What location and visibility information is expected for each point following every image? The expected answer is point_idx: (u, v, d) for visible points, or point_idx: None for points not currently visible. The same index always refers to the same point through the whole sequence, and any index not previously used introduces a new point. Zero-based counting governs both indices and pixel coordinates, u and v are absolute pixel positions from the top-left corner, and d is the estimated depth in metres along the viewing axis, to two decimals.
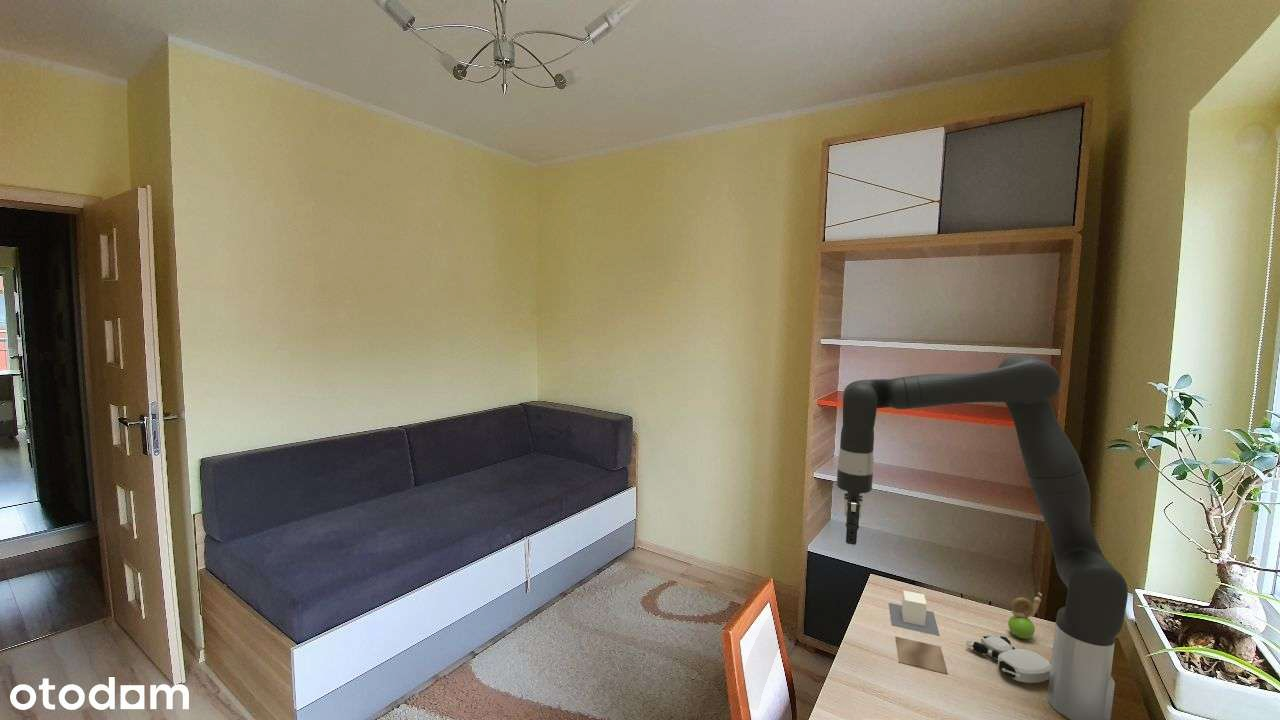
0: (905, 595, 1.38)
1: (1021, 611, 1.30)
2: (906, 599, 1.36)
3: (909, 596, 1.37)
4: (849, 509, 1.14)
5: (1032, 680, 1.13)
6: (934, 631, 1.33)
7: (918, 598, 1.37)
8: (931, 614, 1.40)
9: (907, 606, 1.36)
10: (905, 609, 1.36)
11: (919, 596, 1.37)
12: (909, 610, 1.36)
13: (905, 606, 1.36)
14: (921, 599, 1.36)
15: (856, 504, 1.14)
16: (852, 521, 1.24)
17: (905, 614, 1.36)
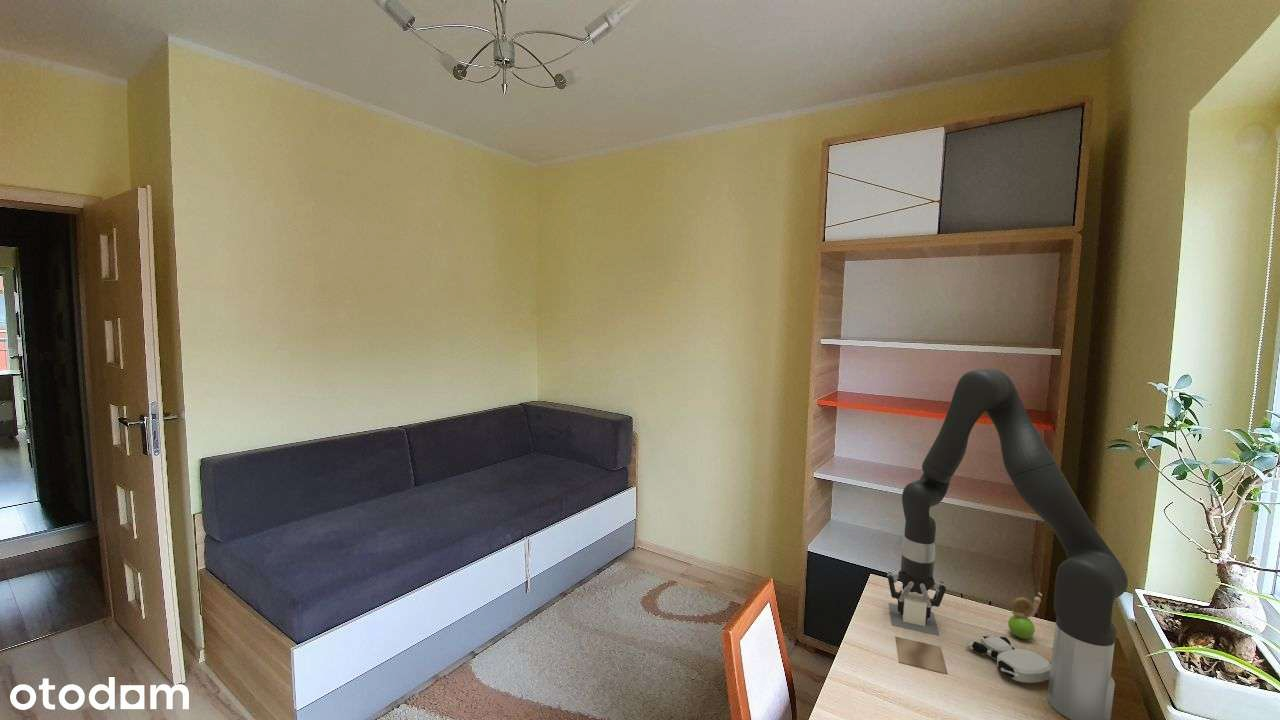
0: None
1: (1021, 611, 1.30)
2: (906, 599, 1.36)
3: (909, 596, 1.37)
4: None
5: (1031, 680, 1.13)
6: (934, 631, 1.33)
7: (918, 598, 1.37)
8: (931, 614, 1.40)
9: (907, 606, 1.36)
10: (905, 609, 1.36)
11: (919, 596, 1.37)
12: (909, 610, 1.36)
13: (905, 606, 1.36)
14: (921, 599, 1.36)
15: (944, 584, 1.35)
16: None
17: (905, 614, 1.36)
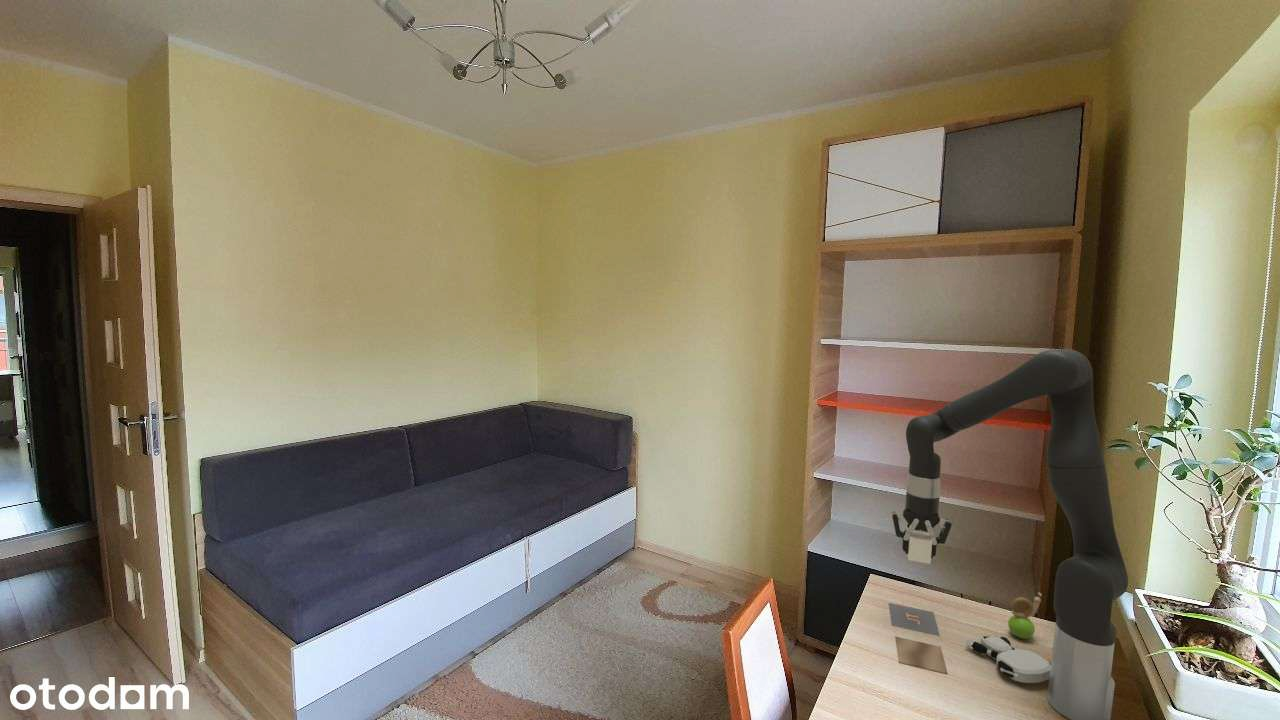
0: None
1: (1021, 611, 1.30)
2: (911, 537, 1.34)
3: (914, 535, 1.35)
4: None
5: (1030, 680, 1.13)
6: (934, 631, 1.33)
7: (923, 536, 1.35)
8: (931, 614, 1.40)
9: (912, 544, 1.34)
10: (910, 547, 1.34)
11: (924, 535, 1.35)
12: (914, 548, 1.34)
13: (910, 544, 1.34)
14: (926, 537, 1.34)
15: None
16: None
17: (910, 552, 1.34)
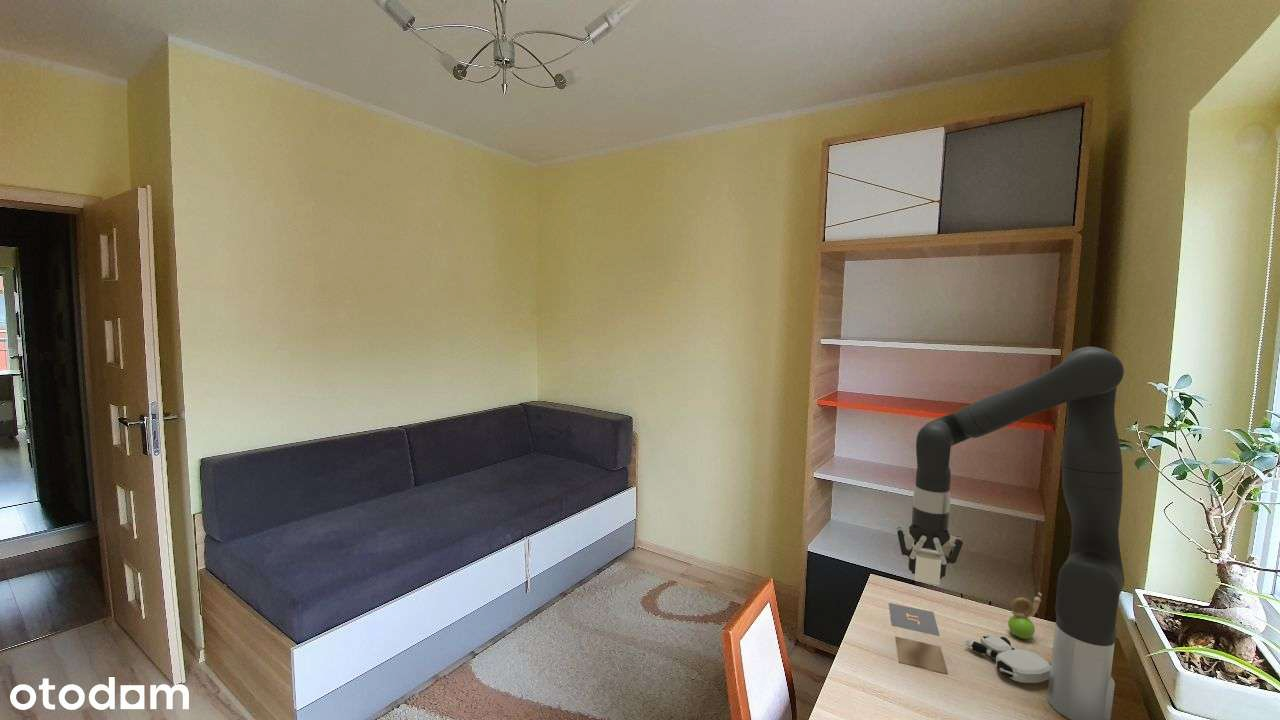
0: None
1: (1021, 611, 1.30)
2: (918, 555, 1.23)
3: (921, 553, 1.24)
4: None
5: (1030, 680, 1.13)
6: (934, 631, 1.33)
7: (931, 554, 1.23)
8: (931, 614, 1.40)
9: (919, 564, 1.22)
10: (917, 567, 1.22)
11: (933, 553, 1.24)
12: (921, 568, 1.22)
13: (917, 563, 1.22)
14: (935, 556, 1.22)
15: None
16: None
17: (917, 572, 1.22)
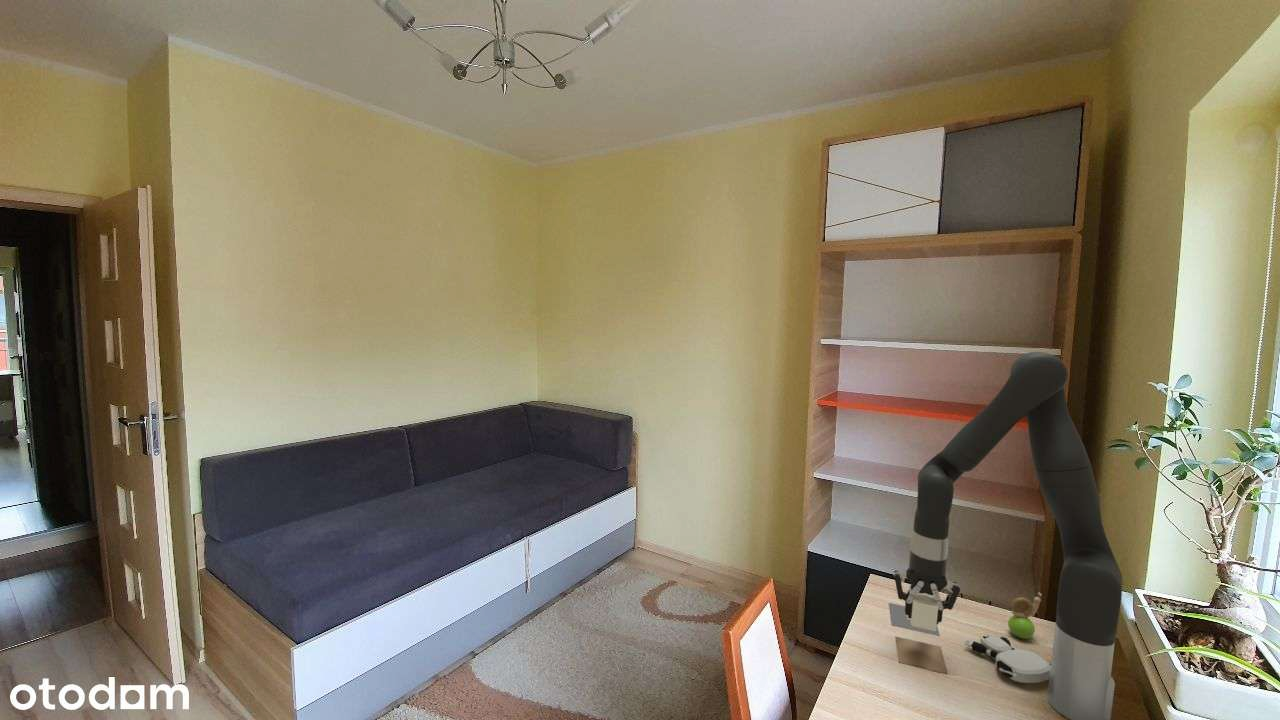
0: None
1: (1021, 611, 1.30)
2: (915, 600, 1.21)
3: (918, 597, 1.23)
4: None
5: (1029, 680, 1.13)
6: (934, 631, 1.33)
7: (928, 599, 1.22)
8: None
9: (916, 609, 1.21)
10: (914, 612, 1.21)
11: (929, 598, 1.23)
12: (918, 613, 1.21)
13: (914, 608, 1.21)
14: (932, 601, 1.21)
15: (958, 585, 1.20)
16: None
17: (914, 617, 1.21)
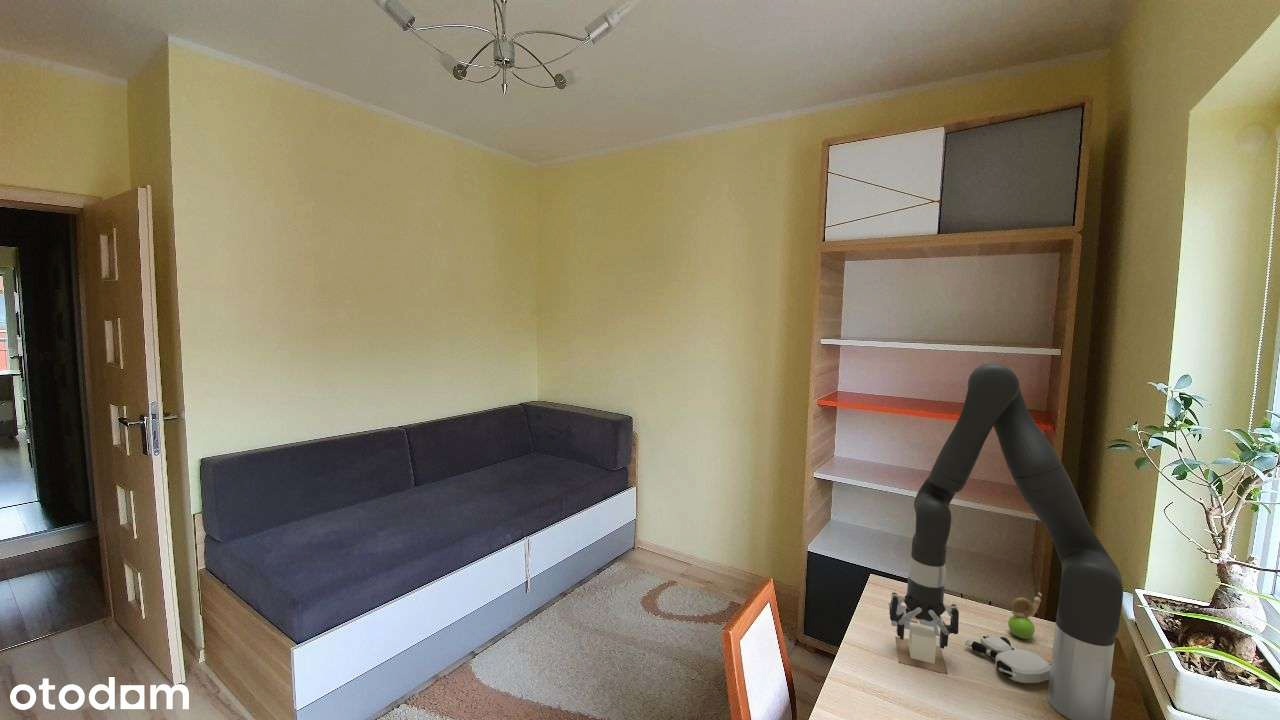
0: (912, 628, 1.24)
1: (1021, 611, 1.30)
2: (914, 633, 1.22)
3: (917, 629, 1.23)
4: None
5: (1029, 680, 1.13)
6: None
7: (927, 631, 1.23)
8: None
9: (914, 641, 1.22)
10: (912, 644, 1.22)
11: (928, 630, 1.23)
12: (917, 645, 1.22)
13: (912, 641, 1.22)
14: (930, 633, 1.22)
15: (956, 607, 1.20)
16: None
17: (912, 650, 1.22)
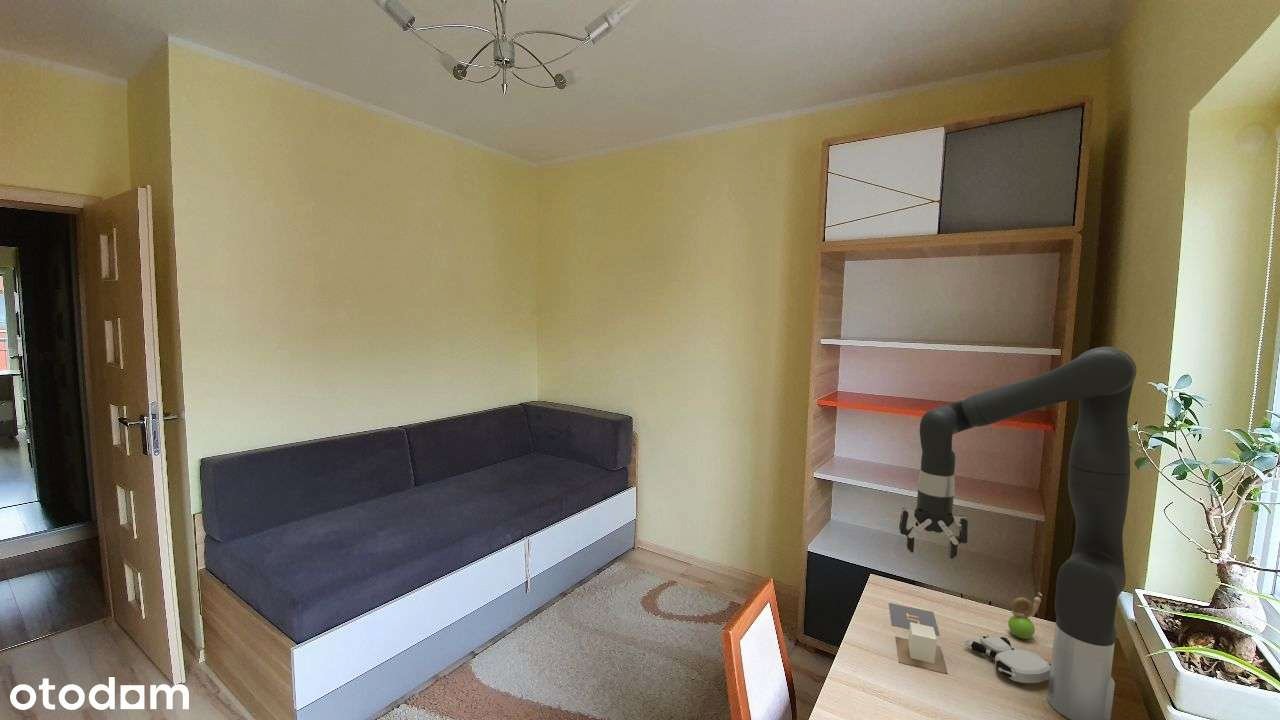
0: (912, 628, 1.24)
1: (1021, 611, 1.30)
2: (914, 633, 1.22)
3: (917, 629, 1.23)
4: None
5: (1028, 680, 1.13)
6: None
7: (927, 631, 1.23)
8: (931, 614, 1.40)
9: (914, 641, 1.22)
10: (912, 644, 1.22)
11: (928, 630, 1.23)
12: (917, 645, 1.22)
13: (912, 641, 1.22)
14: (930, 633, 1.22)
15: None
16: None
17: (912, 650, 1.22)
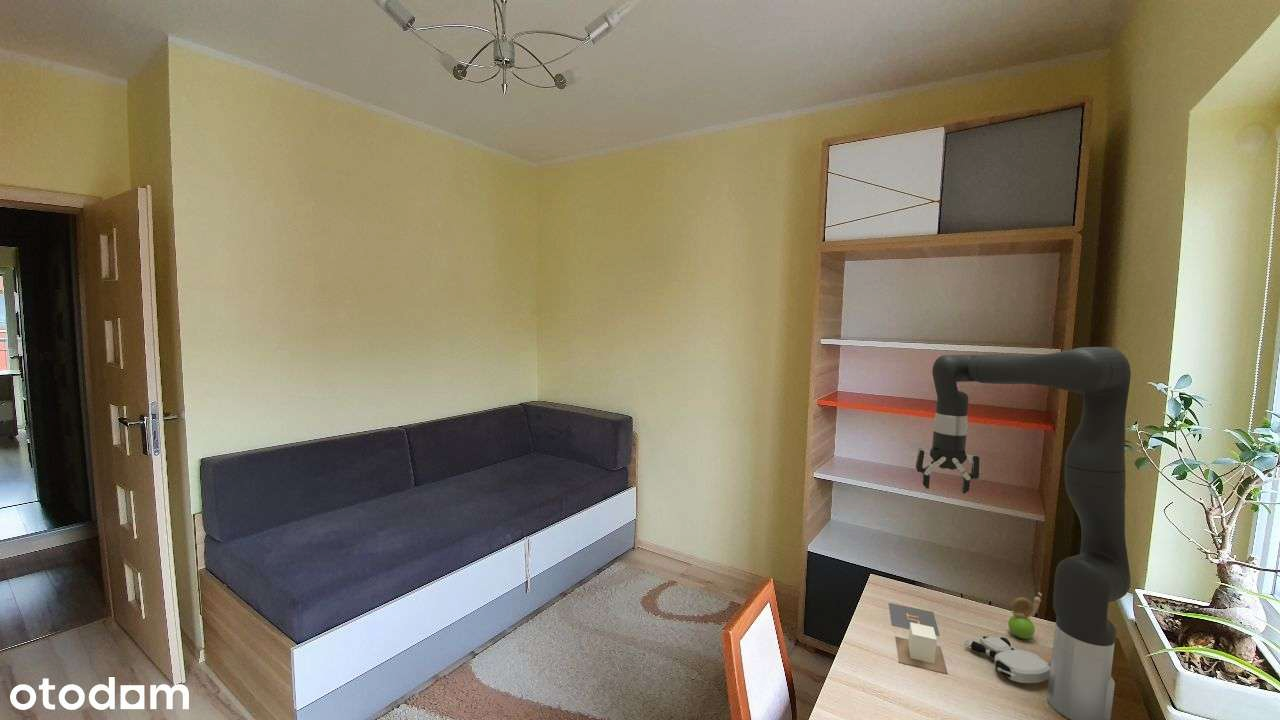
0: (912, 628, 1.24)
1: (1021, 611, 1.30)
2: (914, 633, 1.22)
3: (917, 629, 1.23)
4: None
5: (1027, 680, 1.13)
6: None
7: (927, 631, 1.23)
8: (931, 614, 1.40)
9: (914, 641, 1.22)
10: (912, 644, 1.22)
11: (928, 630, 1.23)
12: (917, 645, 1.22)
13: (912, 641, 1.22)
14: (930, 633, 1.22)
15: None
16: None
17: (912, 650, 1.22)
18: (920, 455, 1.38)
